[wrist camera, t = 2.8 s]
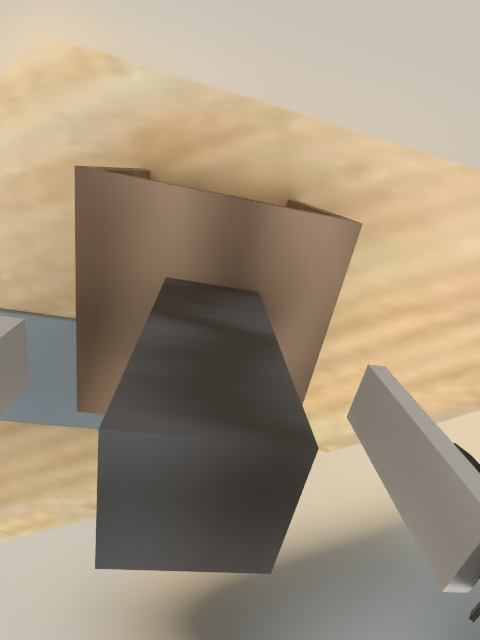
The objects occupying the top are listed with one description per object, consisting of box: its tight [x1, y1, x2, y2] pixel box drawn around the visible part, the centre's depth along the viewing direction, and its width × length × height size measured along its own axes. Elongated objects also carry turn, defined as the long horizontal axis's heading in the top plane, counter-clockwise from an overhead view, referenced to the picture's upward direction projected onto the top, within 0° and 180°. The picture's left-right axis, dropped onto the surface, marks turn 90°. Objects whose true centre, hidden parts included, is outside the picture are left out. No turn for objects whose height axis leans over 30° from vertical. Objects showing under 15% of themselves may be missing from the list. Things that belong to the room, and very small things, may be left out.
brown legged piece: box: [75, 166, 362, 574], centre depth 18 cm, size 13×13×22 cm
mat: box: [0, 309, 105, 429], centre depth 31 cm, size 12×12×1 cm
